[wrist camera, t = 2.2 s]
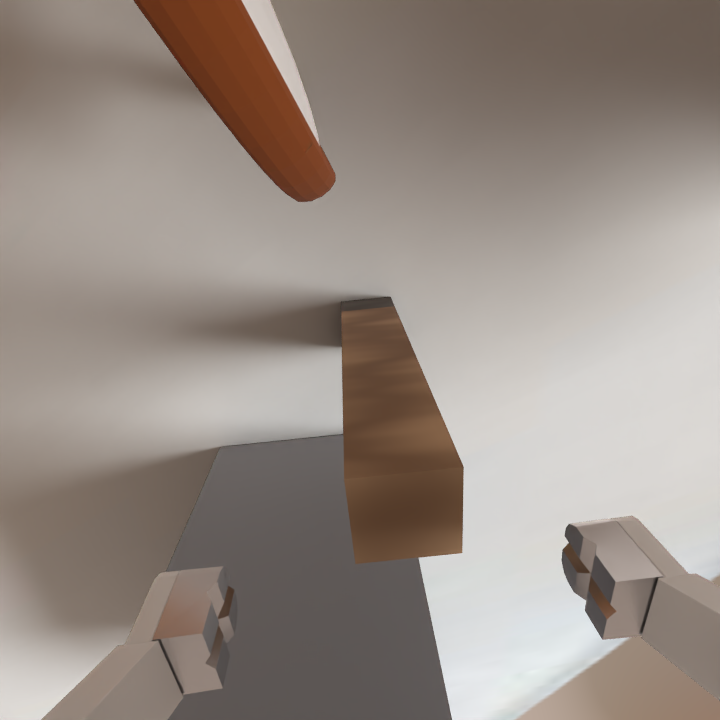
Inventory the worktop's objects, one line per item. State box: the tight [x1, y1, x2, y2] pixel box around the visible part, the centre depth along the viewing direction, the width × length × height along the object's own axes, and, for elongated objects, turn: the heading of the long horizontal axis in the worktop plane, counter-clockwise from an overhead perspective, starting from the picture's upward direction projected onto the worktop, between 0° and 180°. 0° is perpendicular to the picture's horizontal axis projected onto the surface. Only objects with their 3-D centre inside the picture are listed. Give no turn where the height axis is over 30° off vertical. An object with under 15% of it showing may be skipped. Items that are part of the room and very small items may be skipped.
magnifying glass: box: [134, 0, 335, 202], centre depth 11 cm, size 9×2×20 cm, turn 29°
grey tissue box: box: [166, 435, 452, 720], centre depth 23 cm, size 12×18×20 cm, turn 5°
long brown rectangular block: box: [341, 297, 464, 564], centre depth 18 cm, size 3×3×16 cm
